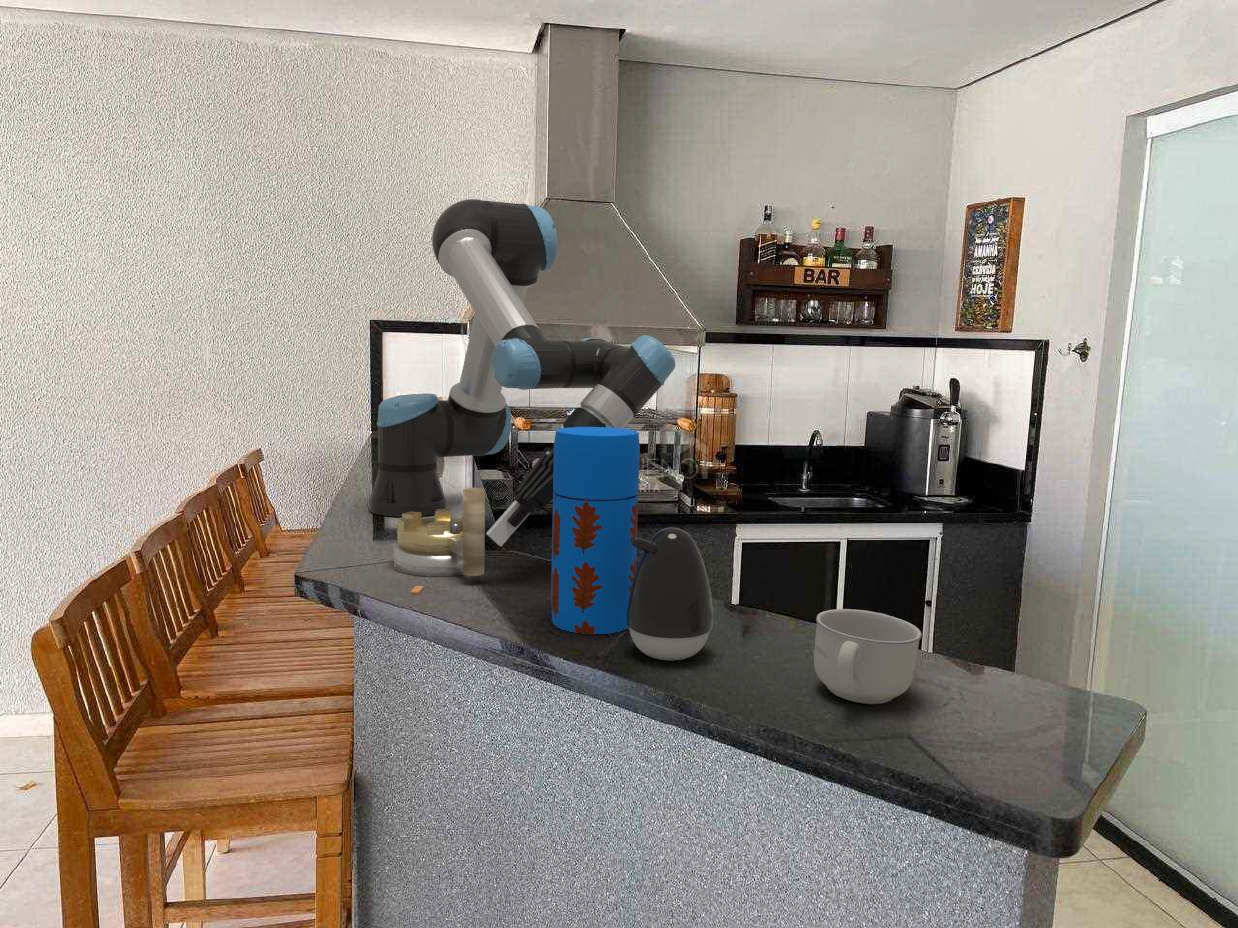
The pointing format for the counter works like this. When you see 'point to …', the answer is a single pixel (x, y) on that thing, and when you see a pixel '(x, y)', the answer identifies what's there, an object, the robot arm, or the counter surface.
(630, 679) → the counter surface
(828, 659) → the teacup
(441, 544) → the studded brass turntable
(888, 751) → the counter surface
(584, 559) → the thermos
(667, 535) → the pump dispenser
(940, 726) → the counter surface
